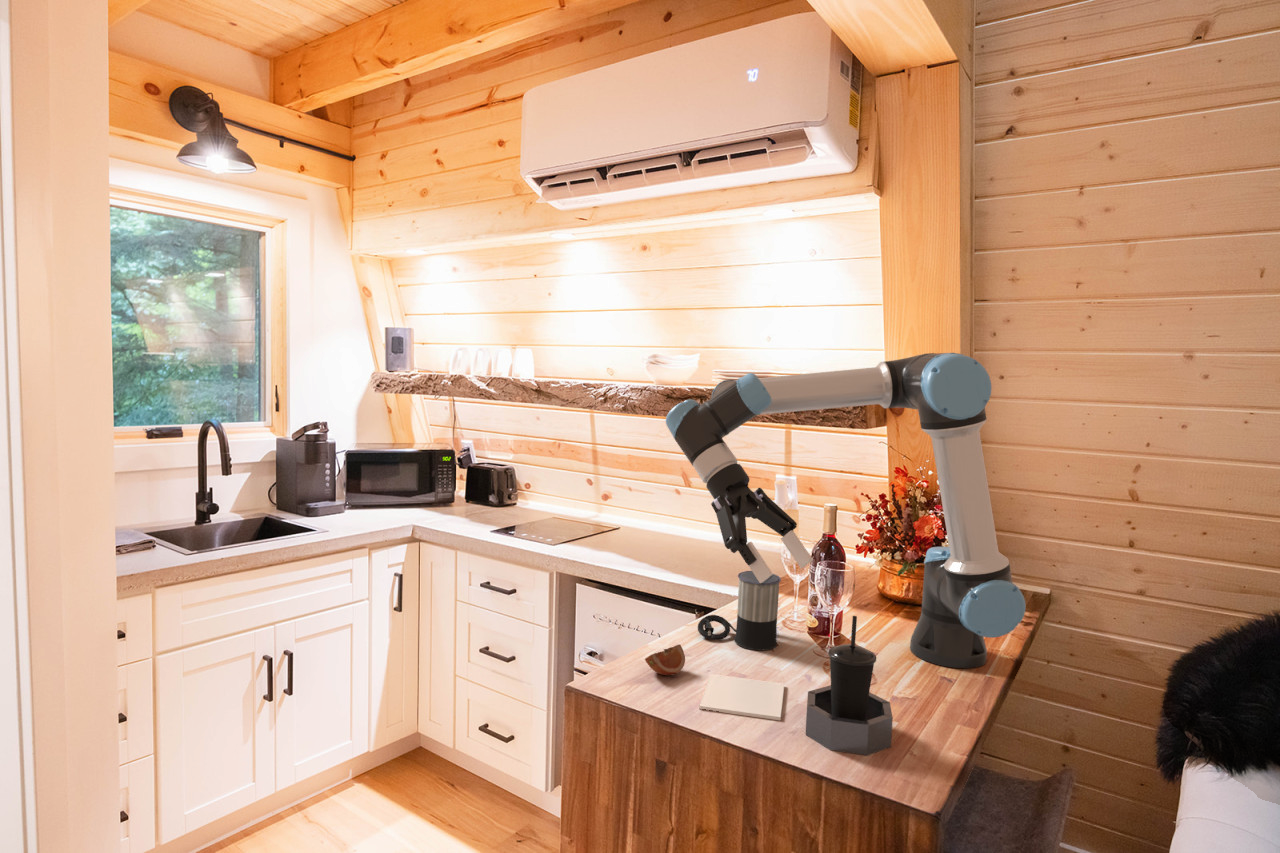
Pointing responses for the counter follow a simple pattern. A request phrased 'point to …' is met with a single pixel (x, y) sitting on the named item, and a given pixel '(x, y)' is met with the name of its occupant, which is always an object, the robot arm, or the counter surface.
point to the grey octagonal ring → (848, 725)
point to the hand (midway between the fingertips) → (787, 571)
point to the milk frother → (750, 614)
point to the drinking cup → (850, 678)
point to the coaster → (743, 697)
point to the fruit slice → (667, 660)
